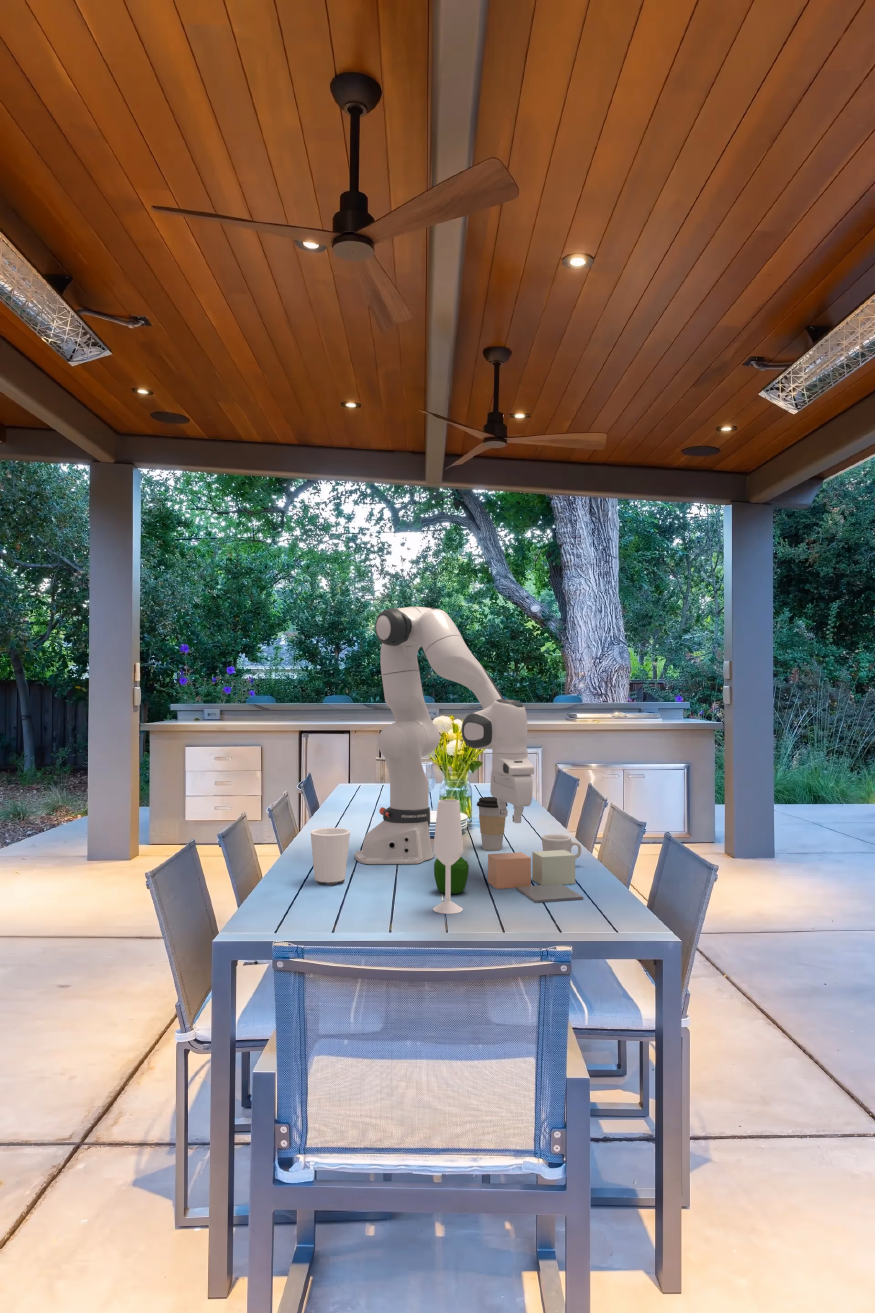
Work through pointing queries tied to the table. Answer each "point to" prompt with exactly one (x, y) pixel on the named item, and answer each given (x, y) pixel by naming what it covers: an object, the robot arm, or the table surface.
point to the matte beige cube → (553, 867)
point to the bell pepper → (452, 875)
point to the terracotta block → (509, 870)
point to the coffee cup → (491, 823)
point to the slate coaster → (549, 893)
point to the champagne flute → (448, 847)
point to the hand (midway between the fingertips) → (510, 819)
